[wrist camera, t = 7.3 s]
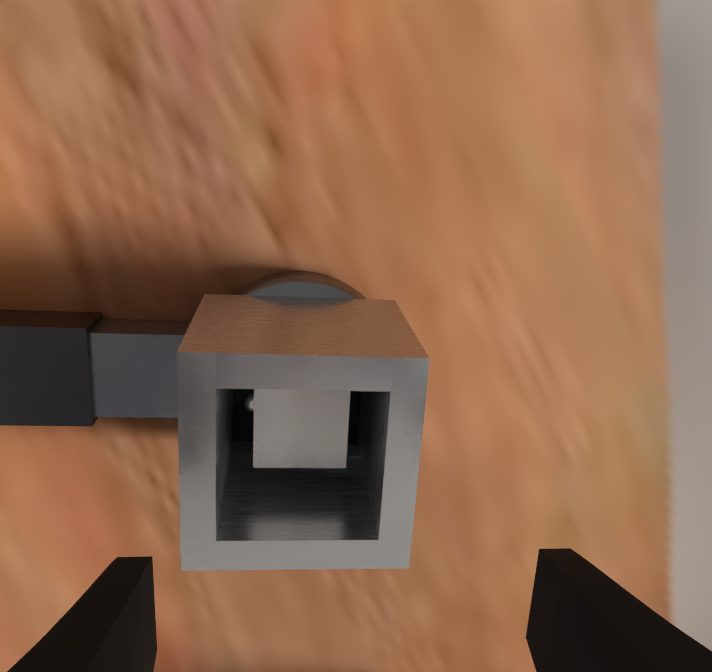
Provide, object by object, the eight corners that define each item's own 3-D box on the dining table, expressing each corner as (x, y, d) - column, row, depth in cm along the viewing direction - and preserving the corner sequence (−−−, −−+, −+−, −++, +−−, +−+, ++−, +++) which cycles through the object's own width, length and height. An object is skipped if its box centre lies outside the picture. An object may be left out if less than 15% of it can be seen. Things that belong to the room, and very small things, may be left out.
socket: (206, 466, 20) (181, 570, 16) (204, 293, 19) (176, 352, 14) (381, 467, 21) (408, 568, 16) (394, 300, 19) (429, 358, 15)
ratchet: (398, 274, 21) (428, 315, 16) (385, 449, 23) (408, 527, 18) (-82, 257, 19) (-190, 297, 15) (-56, 446, 21) (-146, 530, 17)
